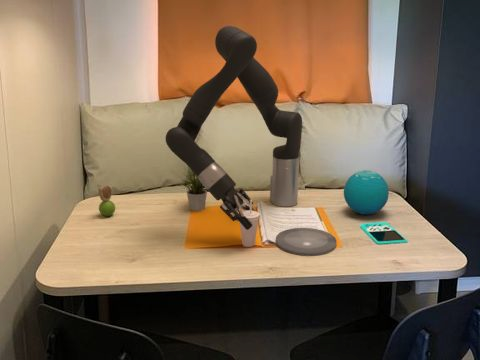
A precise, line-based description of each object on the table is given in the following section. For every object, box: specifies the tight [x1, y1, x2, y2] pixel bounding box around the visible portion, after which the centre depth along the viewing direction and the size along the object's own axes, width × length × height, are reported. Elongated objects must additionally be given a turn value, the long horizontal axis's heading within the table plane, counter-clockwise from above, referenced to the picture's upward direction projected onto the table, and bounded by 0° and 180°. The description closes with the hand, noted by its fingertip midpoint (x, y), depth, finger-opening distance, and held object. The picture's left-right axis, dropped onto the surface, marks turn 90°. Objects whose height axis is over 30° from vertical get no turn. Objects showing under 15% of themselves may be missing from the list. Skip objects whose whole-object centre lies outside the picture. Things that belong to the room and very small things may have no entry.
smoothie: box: [239, 199, 261, 248], centre depth 163 cm, size 6×6×14 cm
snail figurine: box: [97, 184, 116, 217], centre depth 185 cm, size 5×6×12 cm
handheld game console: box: [359, 221, 409, 246], centre depth 173 cm, size 10×16×1 cm, turn 9°
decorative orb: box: [343, 169, 390, 215], centre depth 188 cm, size 15×15×15 cm
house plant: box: [177, 165, 208, 212], centre depth 192 cm, size 14×14×16 cm
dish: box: [275, 227, 337, 257], centre depth 166 cm, size 18×18×1 cm
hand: (254, 223), depth 162 cm, fingers closed on smoothie, 6 cm apart
